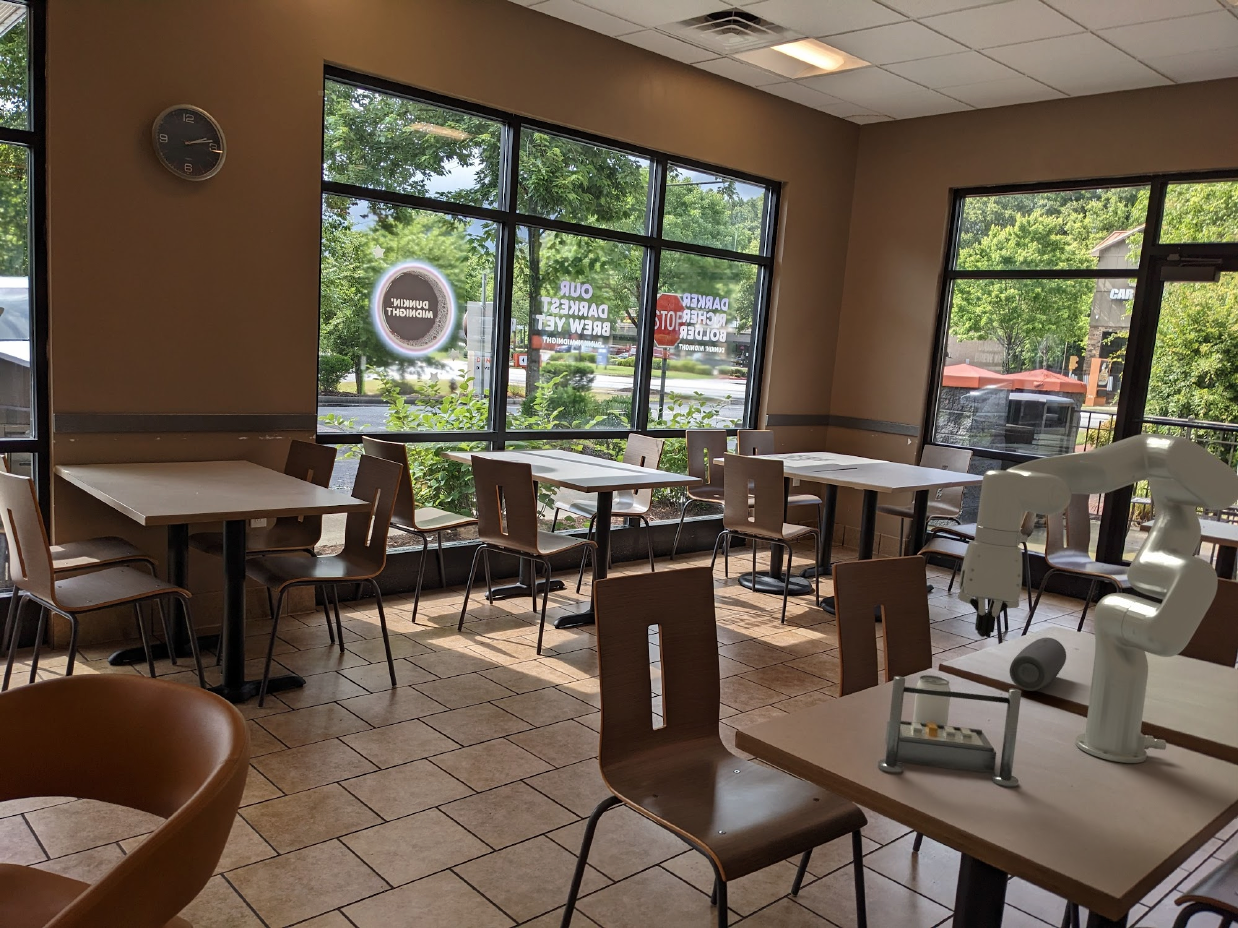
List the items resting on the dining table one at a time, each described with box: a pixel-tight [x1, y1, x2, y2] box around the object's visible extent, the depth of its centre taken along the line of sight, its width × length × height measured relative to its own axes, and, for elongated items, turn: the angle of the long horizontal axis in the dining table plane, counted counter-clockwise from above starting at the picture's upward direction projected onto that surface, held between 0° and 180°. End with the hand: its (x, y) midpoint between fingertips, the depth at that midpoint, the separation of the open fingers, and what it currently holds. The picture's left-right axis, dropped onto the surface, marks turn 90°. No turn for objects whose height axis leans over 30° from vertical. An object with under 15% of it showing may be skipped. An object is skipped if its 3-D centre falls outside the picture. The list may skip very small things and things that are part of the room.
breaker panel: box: [884, 720, 997, 774], centre depth 180 cm, size 18×10×6 cm, turn 82°
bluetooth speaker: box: [1009, 637, 1067, 692], centre depth 230 cm, size 23×9×10 cm, turn 144°
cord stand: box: [877, 675, 1022, 789], centre depth 171 cm, size 24×4×17 cm, turn 82°
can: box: [912, 674, 952, 726], centre depth 189 cm, size 6×6×12 cm
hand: (983, 635), depth 176 cm, fingers closed
